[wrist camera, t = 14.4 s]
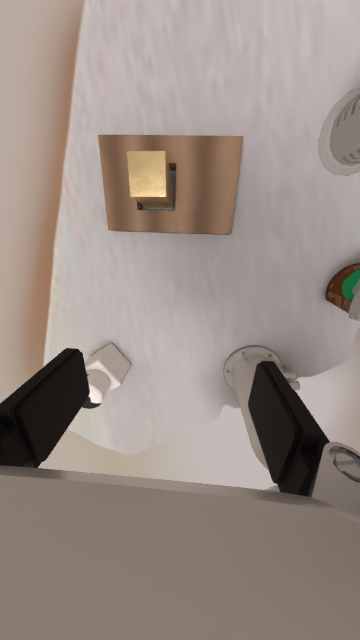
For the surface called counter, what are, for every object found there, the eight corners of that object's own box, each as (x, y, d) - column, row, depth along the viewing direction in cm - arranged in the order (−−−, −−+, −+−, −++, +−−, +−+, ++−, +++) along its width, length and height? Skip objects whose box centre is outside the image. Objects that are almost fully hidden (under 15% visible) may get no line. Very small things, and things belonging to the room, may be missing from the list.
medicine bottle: (110, 376, 47) (84, 418, 36) (90, 356, 45) (56, 393, 34) (131, 364, 45) (111, 404, 34) (111, 342, 43) (83, 377, 32)
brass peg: (172, 175, 30) (165, 150, 22) (172, 208, 32) (165, 196, 23) (144, 175, 30) (126, 151, 22) (146, 208, 32) (130, 196, 24)
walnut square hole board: (238, 146, 28) (243, 136, 25) (227, 234, 33) (231, 234, 30) (107, 144, 29) (98, 134, 26) (115, 231, 34) (108, 230, 31)
